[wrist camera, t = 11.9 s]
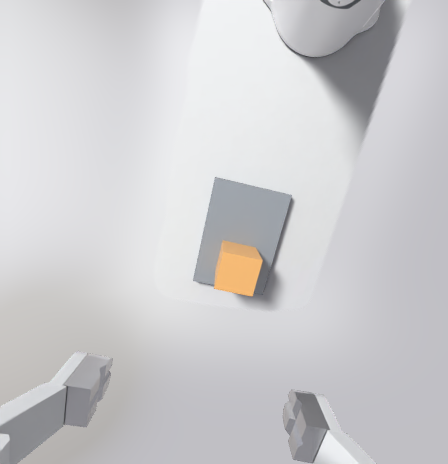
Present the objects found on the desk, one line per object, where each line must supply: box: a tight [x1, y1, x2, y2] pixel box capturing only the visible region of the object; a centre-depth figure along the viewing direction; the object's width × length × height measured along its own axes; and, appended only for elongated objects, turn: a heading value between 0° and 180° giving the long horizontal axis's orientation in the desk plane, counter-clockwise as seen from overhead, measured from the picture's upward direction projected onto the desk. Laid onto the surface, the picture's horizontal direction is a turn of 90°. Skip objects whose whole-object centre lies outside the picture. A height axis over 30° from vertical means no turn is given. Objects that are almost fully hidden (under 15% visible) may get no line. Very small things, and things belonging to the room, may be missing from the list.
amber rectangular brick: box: [214, 240, 263, 296], centre depth 40 cm, size 6×6×7 cm
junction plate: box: [193, 177, 292, 295], centre depth 41 cm, size 20×14×6 cm
